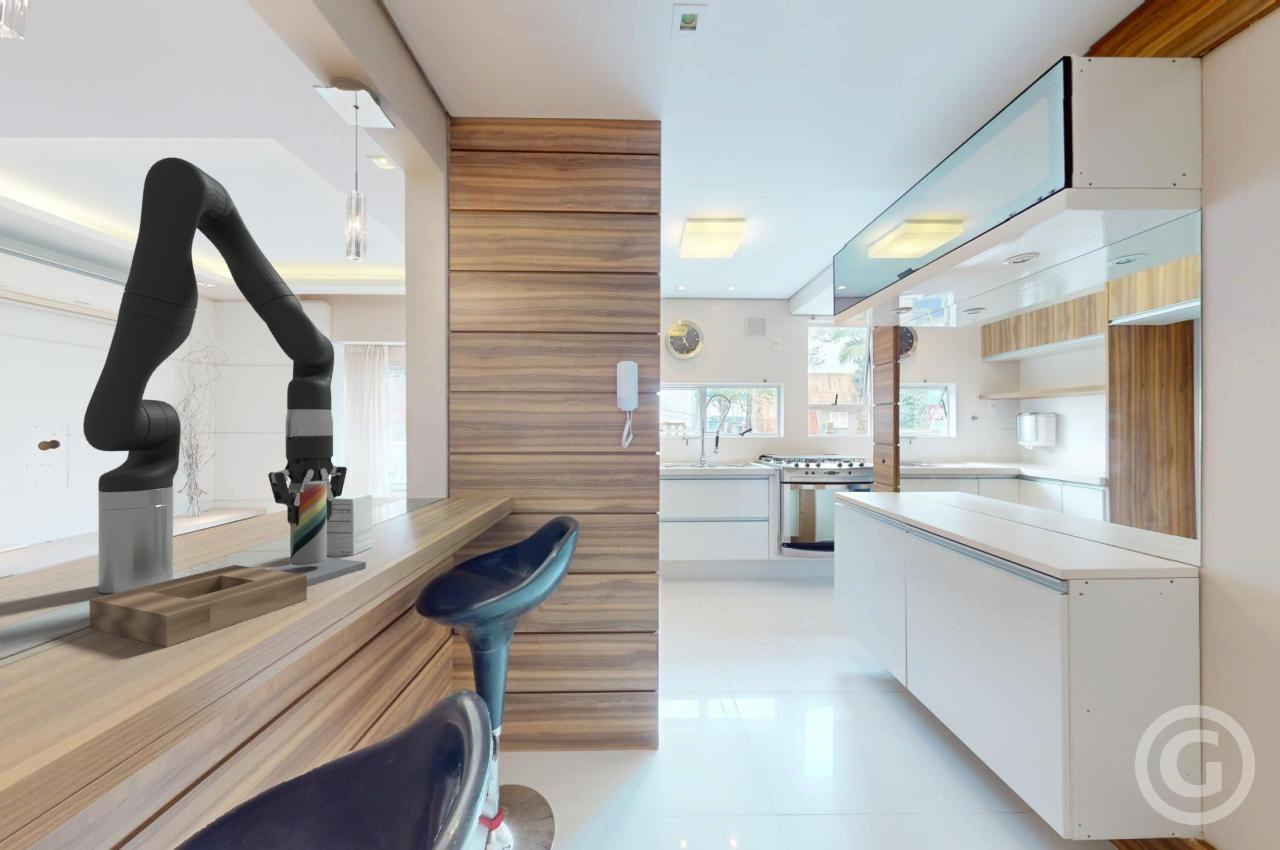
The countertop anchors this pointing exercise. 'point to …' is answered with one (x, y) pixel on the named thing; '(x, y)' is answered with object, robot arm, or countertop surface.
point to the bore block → (195, 603)
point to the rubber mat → (323, 569)
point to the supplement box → (350, 524)
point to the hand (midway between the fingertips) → (310, 522)
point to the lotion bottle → (310, 520)
